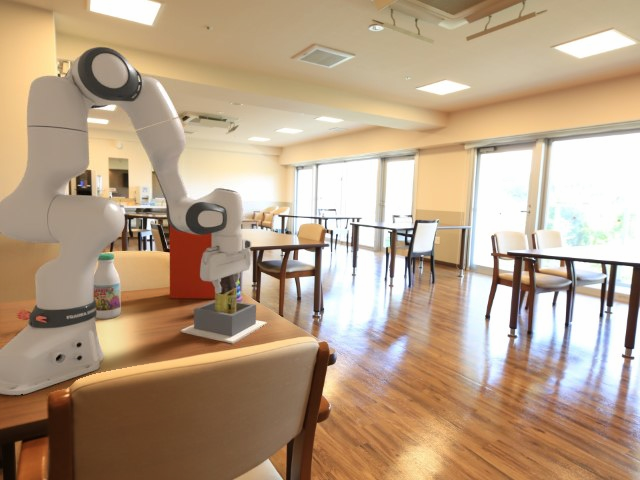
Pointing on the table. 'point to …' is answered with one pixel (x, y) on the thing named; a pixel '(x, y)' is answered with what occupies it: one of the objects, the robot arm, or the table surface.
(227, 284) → the sauce bottle
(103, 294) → the milk bottle
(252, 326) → the mount collar
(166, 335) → the table surface
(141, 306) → the table surface
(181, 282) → the tall red box
